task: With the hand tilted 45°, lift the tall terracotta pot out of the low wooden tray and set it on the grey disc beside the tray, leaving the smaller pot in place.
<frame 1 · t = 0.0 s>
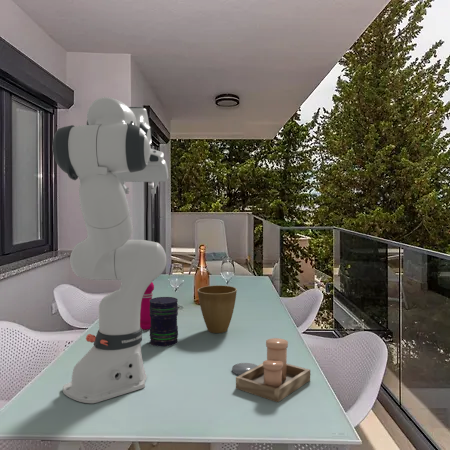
hand: (140, 193, 158), 52 cm above the table, tool tilted 20°, fingers open, 8 cm apart
tall pot: (276, 377, 124), point 1 cm above the table, touching wooden tray
grey disc: (245, 370, 130), on the table
storage jar: (164, 342, 156), on the table
wooden tray: (273, 384, 121), on the table
small pot: (272, 389, 116), point 1 cm above the table, touching wooden tray
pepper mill: (146, 327, 173), on the table
plant pot: (217, 331, 169), on the table
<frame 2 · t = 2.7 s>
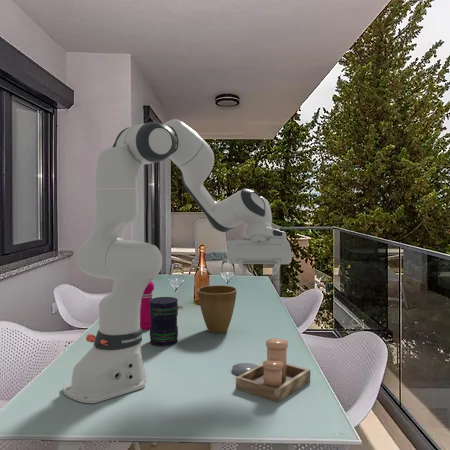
hand: (259, 273, 136), 27 cm above the table, tool tilted 45°, fingers open, 8 cm apart
nothing on the table moved.
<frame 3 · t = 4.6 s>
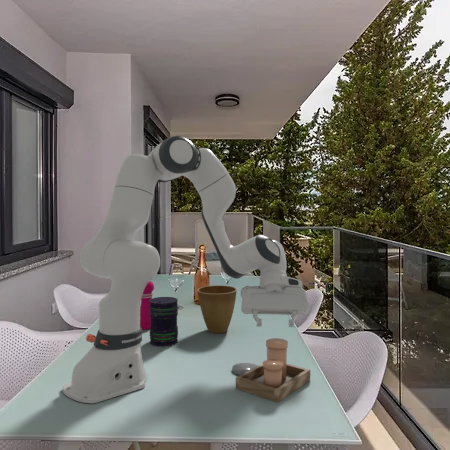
hand: (275, 326, 131), 13 cm above the table, tool tilted 45°, fingers open, 8 cm apart
nothing on the table moved.
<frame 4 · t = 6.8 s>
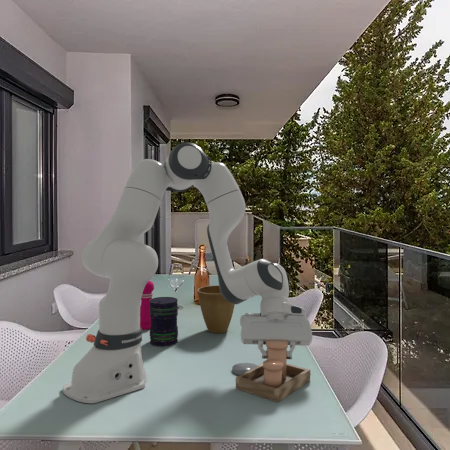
hand: (276, 358, 123), 6 cm above the table, tool tilted 45°, fingers closed on tall pot, 5 cm apart
tall pot: (276, 377, 124), point 1 cm above the table, touching wooden tray, gripper
everything else where it was.
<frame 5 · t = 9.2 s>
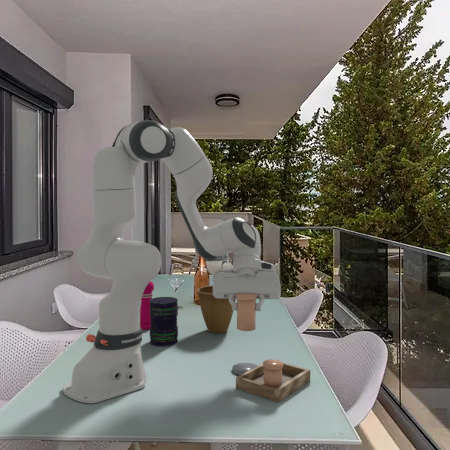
hand: (246, 309, 128), 18 cm above the table, tool tilted 45°, fingers closed on tall pot, 5 cm apart
tall pot: (246, 328, 129), point 13 cm above the table, touching gripper
everything else where it was.
when the fingers open (8 cm above the table, at t = 11.6 s): tall pot drops 1 cm, resting on grey disc.
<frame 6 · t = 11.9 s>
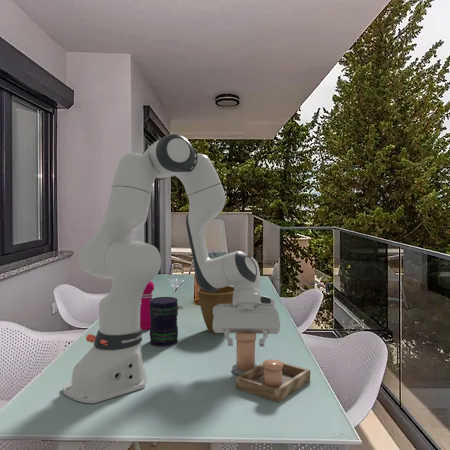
hand: (245, 345, 129), 8 cm above the table, tool tilted 45°, fingers open, 8 cm apart
tall pot: (245, 367, 130), point 1 cm above the table, touching grey disc
everything else where it was.
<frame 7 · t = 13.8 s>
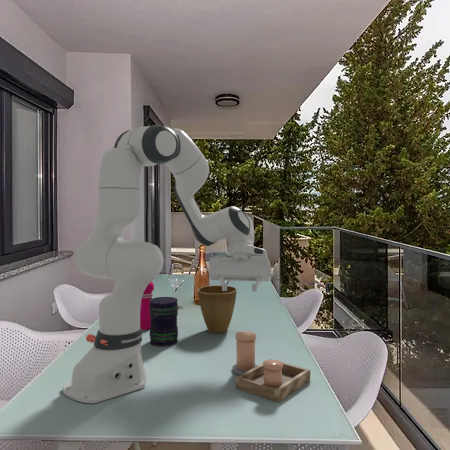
hand: (239, 290, 139), 22 cm above the table, tool tilted 45°, fingers open, 8 cm apart
nothing on the table moved.
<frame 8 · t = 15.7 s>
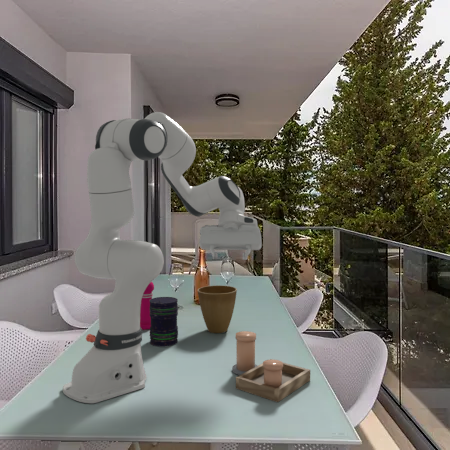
hand: (229, 258, 140), 31 cm above the table, tool tilted 45°, fingers open, 8 cm apart
nothing on the table moved.
at the end: tall pot 0.1 cm from the grey disc (horizontally); tall pot tilted 0°; tall pot point 0.8 cm above the table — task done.
